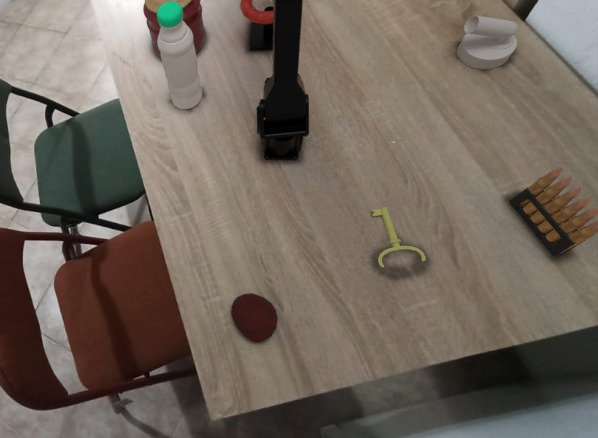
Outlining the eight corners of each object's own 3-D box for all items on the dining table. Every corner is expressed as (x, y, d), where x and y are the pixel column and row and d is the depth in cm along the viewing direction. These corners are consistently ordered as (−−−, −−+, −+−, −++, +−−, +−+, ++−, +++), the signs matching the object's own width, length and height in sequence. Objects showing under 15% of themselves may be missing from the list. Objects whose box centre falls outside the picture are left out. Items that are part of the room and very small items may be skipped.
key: (381, 207, 79) (385, 202, 77) (429, 265, 74) (434, 261, 72) (345, 225, 80) (347, 221, 78) (390, 284, 74) (393, 280, 72)
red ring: (237, 27, 94) (236, 19, 92) (244, -15, 98) (244, -24, 96) (295, 25, 90) (296, 16, 88) (301, -19, 94) (302, -28, 92)
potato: (268, 293, 79) (269, 284, 73) (283, 339, 75) (285, 333, 70) (228, 302, 80) (226, 293, 75) (240, 348, 76) (239, 342, 71)
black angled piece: (249, 51, 102) (249, 25, 95) (251, 25, 105) (251, -2, 98) (286, 48, 99) (288, 22, 93) (287, 22, 102) (289, -5, 96)
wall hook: (463, 2, 81) (527, -10, 79) (443, 41, 90) (501, 31, 87) (478, 36, 78) (546, 25, 75) (456, 73, 86) (516, 64, 83)
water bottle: (167, 108, 101) (144, 21, 79) (177, 84, 103) (157, -7, 81) (196, 112, 98) (180, 24, 77) (206, 87, 101) (193, -5, 79)
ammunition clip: (566, 252, 69) (622, 222, 59) (554, 256, 69) (607, 227, 59) (520, 197, 74) (563, 160, 64) (508, 200, 74) (550, 164, 64)
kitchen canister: (171, 17, 112) (158, -47, 97) (215, 30, 107) (209, -36, 91) (143, 54, 110) (125, -6, 94) (187, 69, 104) (175, 8, 89)
